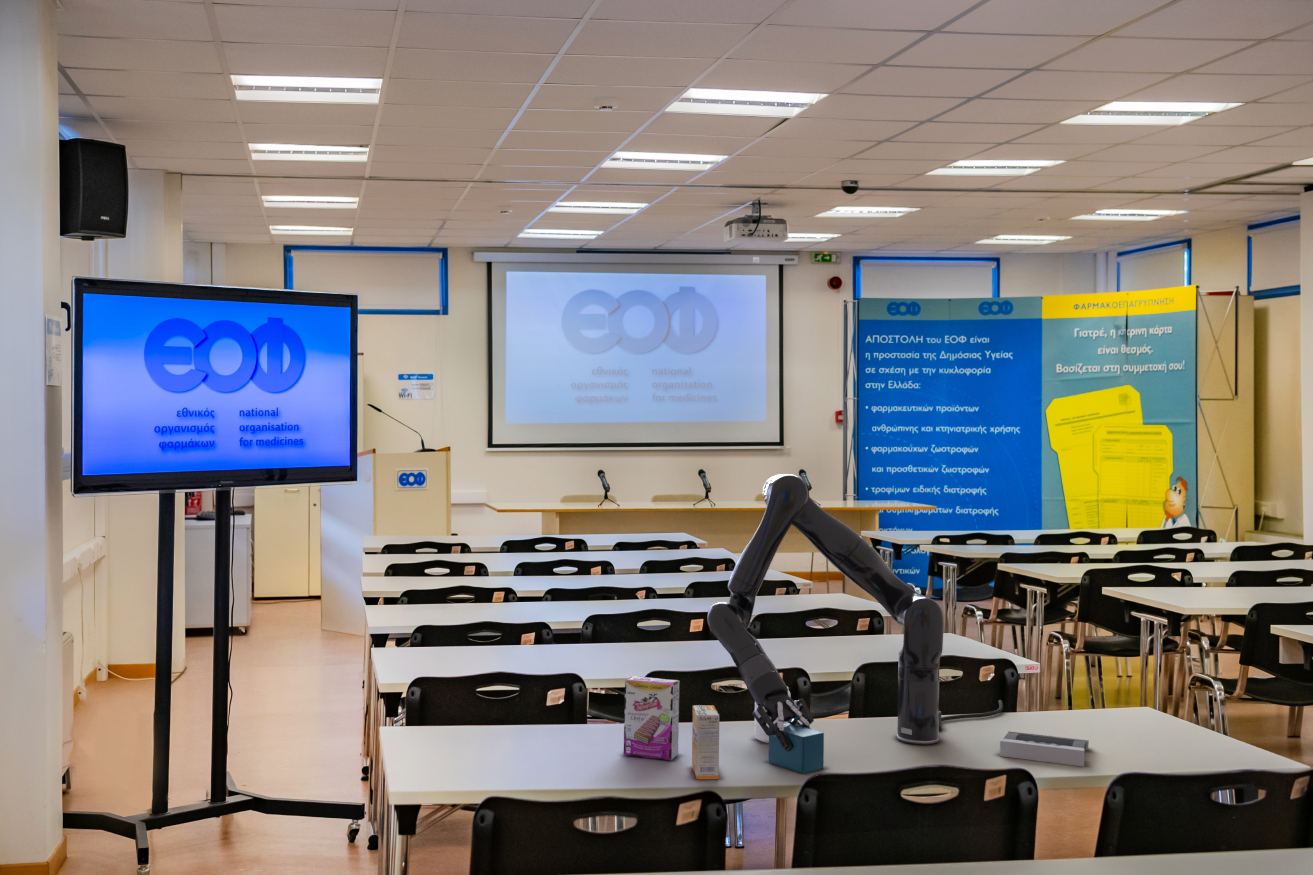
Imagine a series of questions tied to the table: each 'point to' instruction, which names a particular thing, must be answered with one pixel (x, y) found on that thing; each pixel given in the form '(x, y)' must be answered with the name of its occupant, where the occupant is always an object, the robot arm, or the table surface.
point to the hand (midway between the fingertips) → (801, 746)
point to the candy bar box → (651, 717)
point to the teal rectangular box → (798, 749)
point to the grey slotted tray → (1044, 748)
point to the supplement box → (705, 742)
